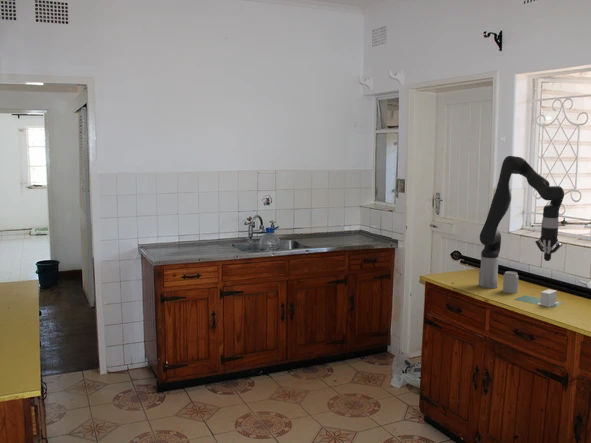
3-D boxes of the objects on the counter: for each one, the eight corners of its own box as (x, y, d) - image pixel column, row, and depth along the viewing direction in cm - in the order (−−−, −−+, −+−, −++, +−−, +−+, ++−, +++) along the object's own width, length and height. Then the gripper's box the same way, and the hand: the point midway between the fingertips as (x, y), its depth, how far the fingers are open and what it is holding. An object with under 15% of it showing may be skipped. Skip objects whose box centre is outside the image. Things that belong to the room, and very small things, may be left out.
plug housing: (547, 300, 281) (548, 289, 280) (556, 302, 277) (556, 290, 277) (540, 303, 275) (540, 292, 274) (548, 305, 272) (549, 293, 271)
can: (510, 296, 294) (511, 274, 293) (499, 293, 301) (500, 271, 299) (520, 294, 298) (521, 272, 296) (509, 291, 304) (510, 270, 303)
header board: (513, 302, 284) (513, 293, 283) (524, 297, 292) (524, 289, 291) (552, 310, 269) (553, 301, 268) (563, 305, 277) (564, 297, 276)
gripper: (566, 227, 271) (564, 261, 274) (540, 224, 281) (537, 257, 284) (560, 228, 267) (557, 264, 269) (533, 225, 276) (530, 259, 279)
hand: (547, 260), depth 277 cm, fingers closed
